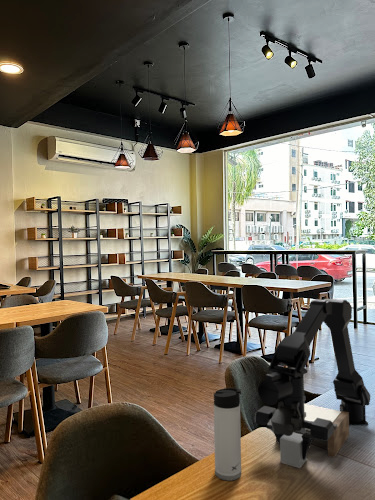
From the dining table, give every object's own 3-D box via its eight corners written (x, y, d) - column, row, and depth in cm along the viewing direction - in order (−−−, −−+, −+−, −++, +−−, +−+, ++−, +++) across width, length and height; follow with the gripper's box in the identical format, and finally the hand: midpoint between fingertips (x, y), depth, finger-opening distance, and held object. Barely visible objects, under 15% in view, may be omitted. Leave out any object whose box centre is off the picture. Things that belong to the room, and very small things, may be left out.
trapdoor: (300, 411, 122) (300, 402, 122) (341, 420, 115) (341, 411, 115) (282, 428, 110) (282, 418, 110) (327, 439, 103) (326, 429, 103)
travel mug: (241, 482, 92) (240, 395, 92) (213, 479, 93) (211, 393, 93) (243, 468, 98) (242, 386, 98) (216, 465, 99) (215, 384, 99)
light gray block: (288, 453, 104) (287, 430, 104) (307, 459, 101) (306, 435, 101) (280, 462, 100) (279, 438, 100) (299, 468, 97) (299, 443, 97)
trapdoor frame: (295, 422, 123) (295, 398, 123) (349, 435, 114) (348, 409, 114) (275, 441, 111) (275, 415, 111) (334, 457, 102) (333, 428, 102)
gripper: (244, 396, 99) (245, 459, 99) (319, 412, 88) (321, 483, 88) (263, 383, 108) (264, 441, 108) (333, 397, 97) (335, 461, 97)
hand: (293, 456), depth 100 cm, fingers closed on light gray block, 5 cm apart
